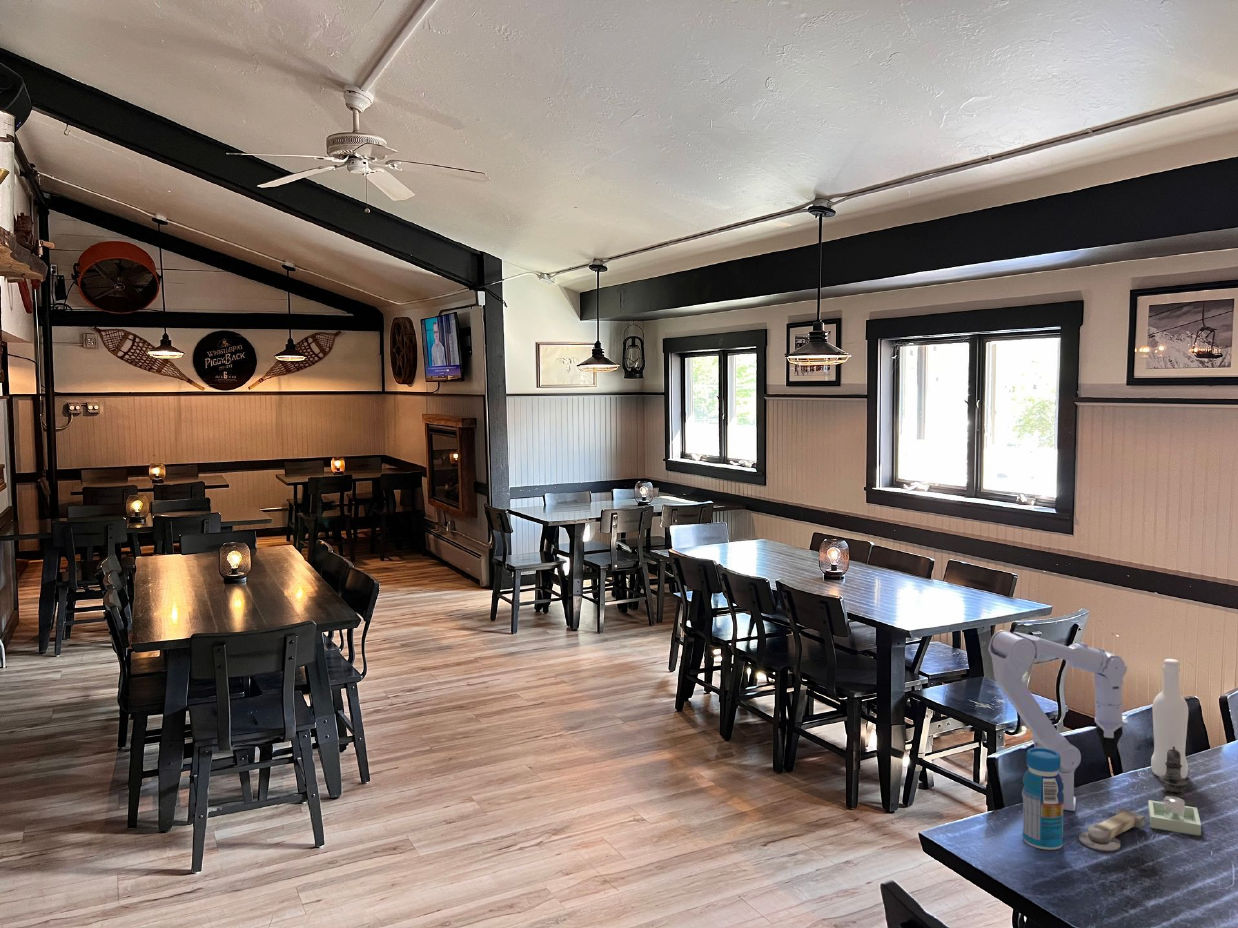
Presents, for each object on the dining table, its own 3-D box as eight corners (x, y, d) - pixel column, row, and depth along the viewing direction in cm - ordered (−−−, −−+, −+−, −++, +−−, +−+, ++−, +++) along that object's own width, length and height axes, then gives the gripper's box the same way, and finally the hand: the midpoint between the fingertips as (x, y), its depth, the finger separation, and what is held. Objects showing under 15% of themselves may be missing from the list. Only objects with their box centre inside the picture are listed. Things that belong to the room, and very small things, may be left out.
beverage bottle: (1015, 842, 197) (1016, 753, 196) (1029, 829, 204) (1029, 742, 202) (1056, 855, 192) (1057, 763, 190) (1069, 840, 198) (1070, 751, 197)
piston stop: (1163, 822, 204) (1164, 801, 204) (1163, 815, 208) (1163, 794, 207) (1184, 826, 202) (1185, 805, 202) (1183, 819, 206) (1184, 798, 206)
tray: (1150, 827, 203) (1150, 816, 203) (1148, 810, 212) (1148, 799, 212) (1200, 835, 199) (1201, 824, 199) (1196, 818, 207) (1196, 807, 207)
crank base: (1078, 846, 195) (1078, 843, 195) (1079, 830, 202) (1079, 827, 202) (1120, 854, 191) (1120, 851, 191) (1120, 838, 199) (1120, 835, 199)
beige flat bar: (1105, 845, 194) (1105, 836, 193) (1082, 836, 198) (1082, 827, 198) (1144, 824, 202) (1144, 816, 202) (1121, 816, 207) (1121, 808, 206)
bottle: (1143, 769, 235) (1145, 656, 234) (1173, 767, 236) (1174, 654, 234) (1165, 781, 227) (1166, 664, 226) (1195, 780, 228) (1197, 663, 226)
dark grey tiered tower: (1179, 789, 223) (1180, 741, 222) (1192, 799, 217) (1193, 750, 216) (1154, 788, 224) (1155, 741, 223) (1166, 798, 218) (1167, 750, 217)
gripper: (1127, 713, 209) (1129, 770, 210) (1127, 693, 222) (1128, 747, 223) (1093, 709, 213) (1094, 765, 213) (1094, 691, 225) (1096, 744, 226)
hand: (1109, 756), depth 218 cm, fingers closed
